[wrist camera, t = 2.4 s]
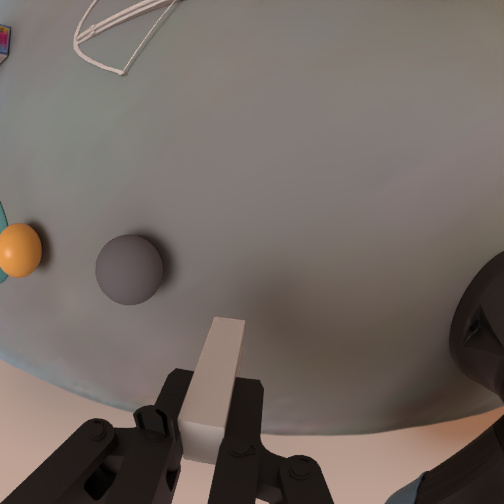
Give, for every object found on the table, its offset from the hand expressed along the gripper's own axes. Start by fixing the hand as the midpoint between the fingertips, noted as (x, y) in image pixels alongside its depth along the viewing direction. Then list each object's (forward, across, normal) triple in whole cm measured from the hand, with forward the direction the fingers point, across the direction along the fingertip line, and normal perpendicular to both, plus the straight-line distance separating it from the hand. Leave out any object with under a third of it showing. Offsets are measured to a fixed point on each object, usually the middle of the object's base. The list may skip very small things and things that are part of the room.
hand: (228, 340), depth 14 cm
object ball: (+7, +23, 0) cm, 24 cm away
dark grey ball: (+7, +9, 0) cm, 12 cm away
